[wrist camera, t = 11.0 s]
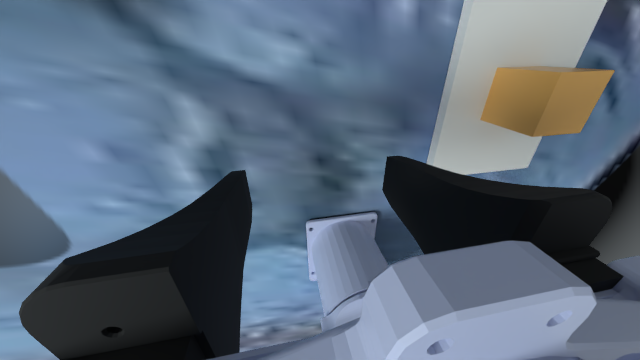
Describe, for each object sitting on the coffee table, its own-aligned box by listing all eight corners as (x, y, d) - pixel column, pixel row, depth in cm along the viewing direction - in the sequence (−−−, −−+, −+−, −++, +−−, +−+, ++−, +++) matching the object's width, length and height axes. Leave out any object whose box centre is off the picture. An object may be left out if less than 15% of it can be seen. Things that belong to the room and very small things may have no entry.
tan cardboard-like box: (520, 116, 22) (579, 132, 18) (480, 119, 21) (532, 136, 17) (541, 66, 20) (614, 70, 16) (497, 67, 19) (561, 72, 15)
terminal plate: (519, 163, 26) (561, 183, 23) (423, 174, 25) (452, 197, 21) (600, -16, 19) (686, -33, 15) (468, -19, 17) (527, -40, 13)
